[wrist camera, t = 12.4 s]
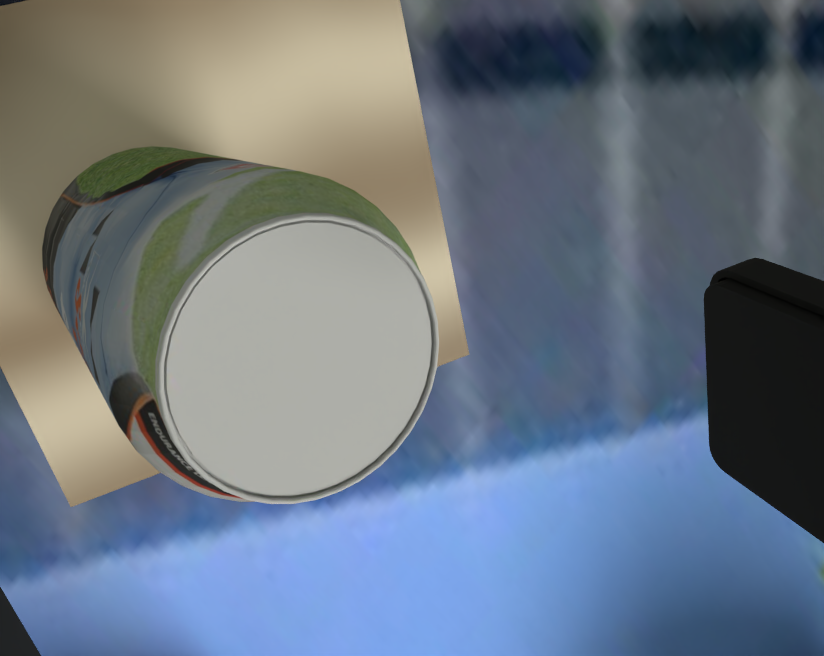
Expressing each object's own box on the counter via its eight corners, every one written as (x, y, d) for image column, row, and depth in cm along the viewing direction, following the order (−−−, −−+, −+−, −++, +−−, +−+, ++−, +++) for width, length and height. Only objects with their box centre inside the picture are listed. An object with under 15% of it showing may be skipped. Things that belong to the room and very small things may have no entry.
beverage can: (-8, 241, 21) (-95, 449, 10) (200, 63, 21) (319, 89, 11) (161, 388, 24) (226, 662, 13) (339, 230, 24) (536, 375, 14)
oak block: (-116, 38, 22) (-163, 41, 18) (334, -61, 26) (384, -78, 22) (73, 433, 28) (71, 507, 24) (417, 309, 32) (469, 354, 28)
